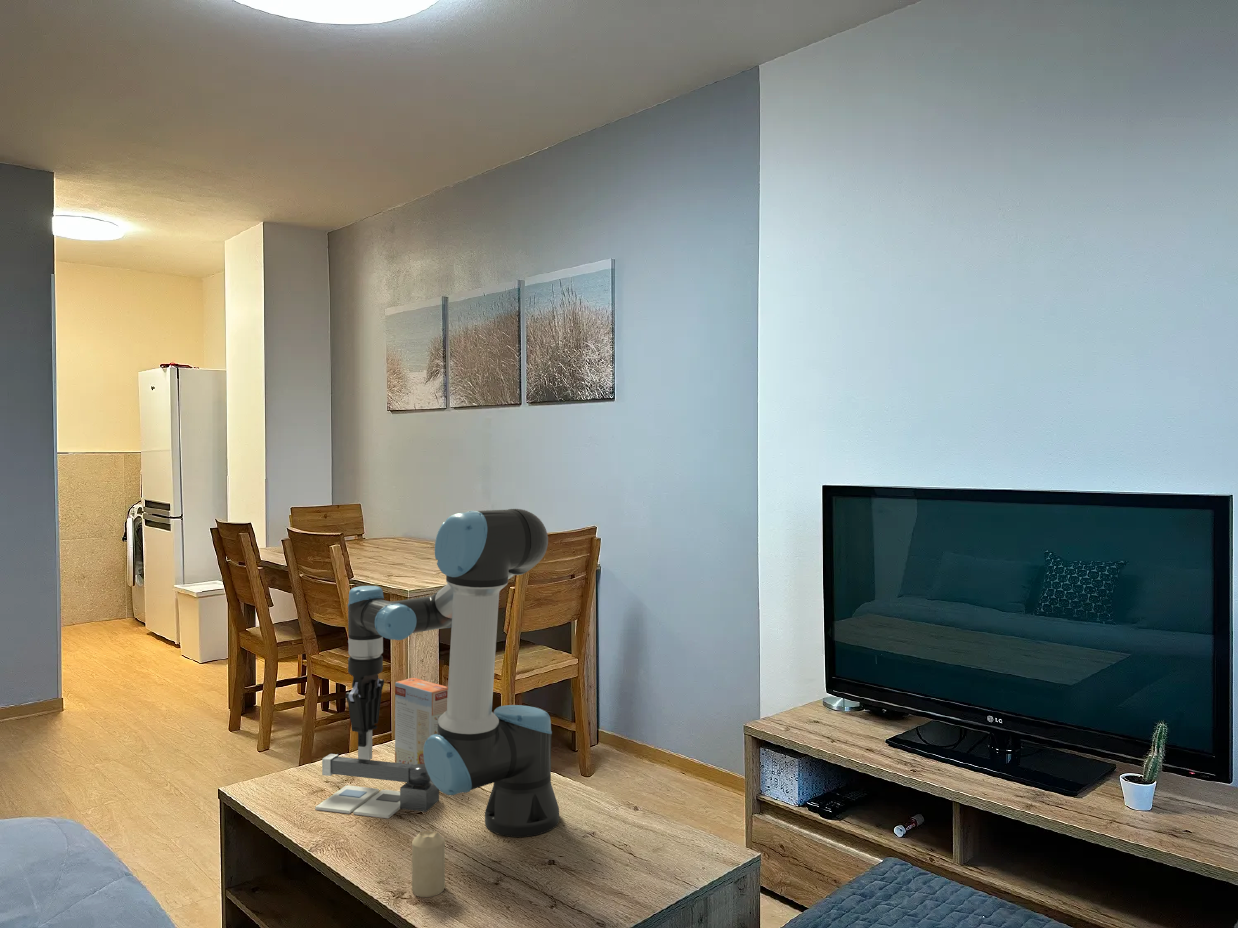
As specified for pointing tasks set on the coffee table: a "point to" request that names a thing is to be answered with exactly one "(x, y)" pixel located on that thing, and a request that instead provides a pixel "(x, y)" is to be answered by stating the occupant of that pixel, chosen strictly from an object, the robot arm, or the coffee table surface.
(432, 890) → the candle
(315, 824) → the coffee table surface
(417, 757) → the cracker box
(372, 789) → the label plate
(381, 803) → the label plate
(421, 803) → the pivot post
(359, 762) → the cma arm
